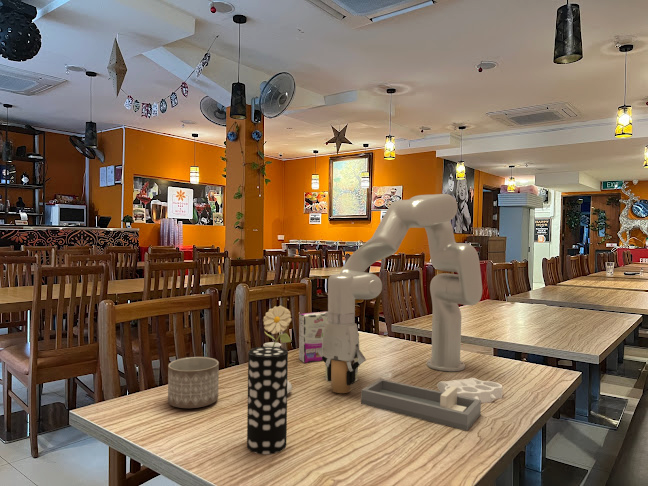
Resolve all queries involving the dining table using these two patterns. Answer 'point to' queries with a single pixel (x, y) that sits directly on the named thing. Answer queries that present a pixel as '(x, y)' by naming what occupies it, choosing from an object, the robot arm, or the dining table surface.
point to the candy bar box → (311, 336)
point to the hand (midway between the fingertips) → (341, 381)
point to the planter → (193, 382)
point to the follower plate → (451, 400)
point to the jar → (339, 376)
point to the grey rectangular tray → (420, 403)
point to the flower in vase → (278, 328)
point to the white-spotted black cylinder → (267, 399)
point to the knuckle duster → (474, 389)
